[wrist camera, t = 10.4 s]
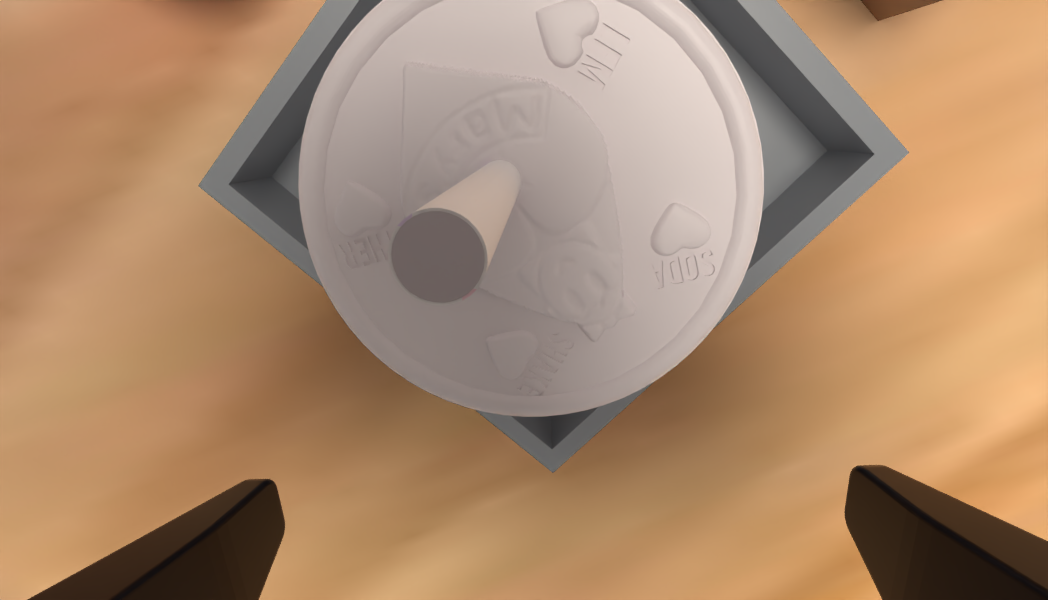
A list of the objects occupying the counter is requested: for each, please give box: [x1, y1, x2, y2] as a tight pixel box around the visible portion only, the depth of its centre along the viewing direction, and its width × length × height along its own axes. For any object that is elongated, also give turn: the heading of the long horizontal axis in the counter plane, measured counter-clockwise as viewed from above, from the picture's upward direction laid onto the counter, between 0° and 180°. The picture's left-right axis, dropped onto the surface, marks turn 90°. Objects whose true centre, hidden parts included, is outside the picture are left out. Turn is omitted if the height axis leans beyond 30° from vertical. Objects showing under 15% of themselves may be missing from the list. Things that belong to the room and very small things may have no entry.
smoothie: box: [298, 0, 764, 417], centre depth 10 cm, size 6×6×14 cm
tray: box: [198, 0, 909, 472], centre depth 16 cm, size 13×13×3 cm
